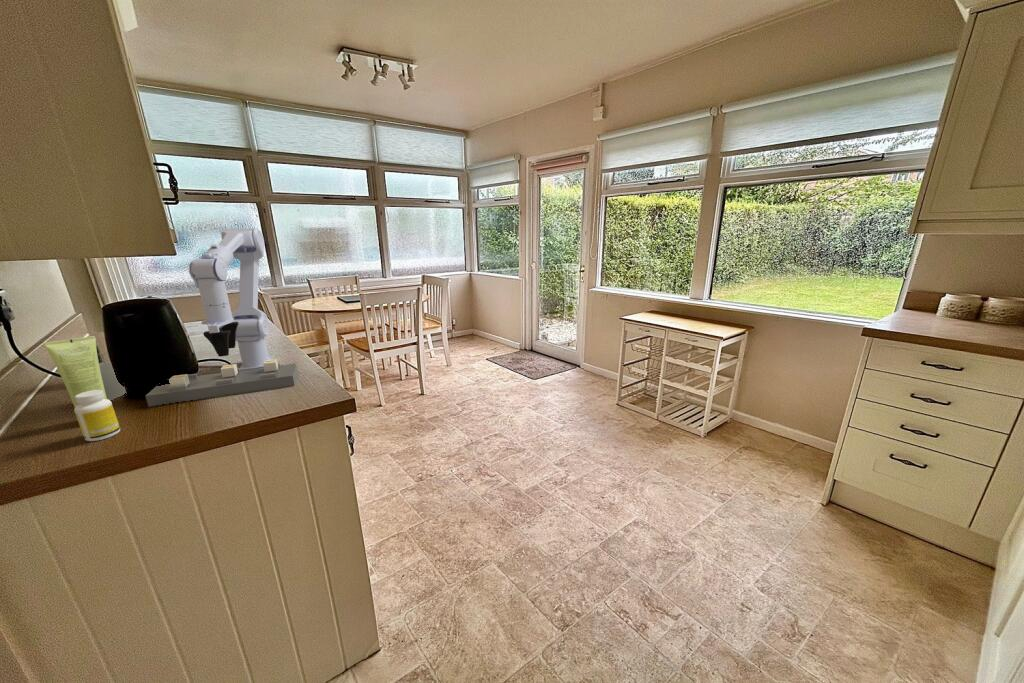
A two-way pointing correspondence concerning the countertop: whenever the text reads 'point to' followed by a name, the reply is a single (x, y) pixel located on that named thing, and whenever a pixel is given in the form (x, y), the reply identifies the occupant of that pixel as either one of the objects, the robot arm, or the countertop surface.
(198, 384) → the power strip
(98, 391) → the supplement bottle
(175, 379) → the switch
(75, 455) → the countertop surface
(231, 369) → the switch mid
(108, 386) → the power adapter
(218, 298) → the robot arm
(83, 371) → the tube
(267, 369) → the switch
